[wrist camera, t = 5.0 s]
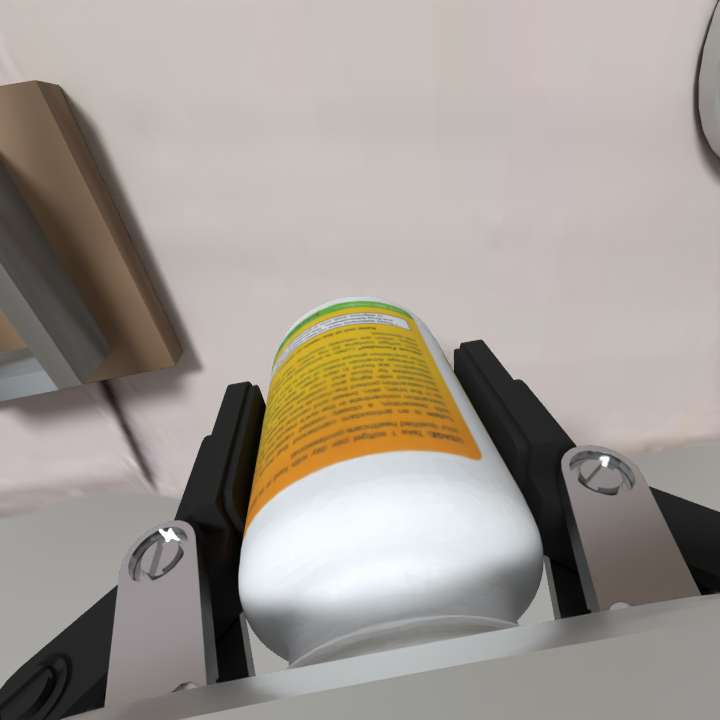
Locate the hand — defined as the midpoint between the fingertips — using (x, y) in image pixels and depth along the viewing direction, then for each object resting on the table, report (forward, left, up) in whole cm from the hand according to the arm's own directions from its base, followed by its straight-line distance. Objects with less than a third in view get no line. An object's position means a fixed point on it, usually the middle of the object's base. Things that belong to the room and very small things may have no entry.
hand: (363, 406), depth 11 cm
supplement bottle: (0, 0, -2) cm, 2 cm away
